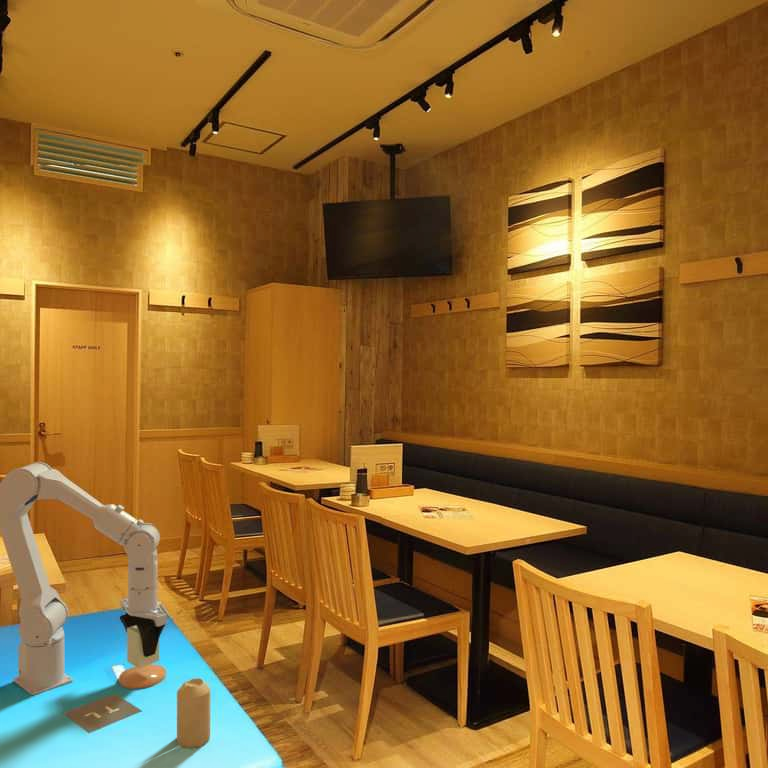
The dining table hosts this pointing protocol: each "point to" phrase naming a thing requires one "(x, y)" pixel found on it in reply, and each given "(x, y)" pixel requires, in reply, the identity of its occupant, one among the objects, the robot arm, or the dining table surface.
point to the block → (138, 649)
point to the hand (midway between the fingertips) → (143, 651)
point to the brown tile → (102, 712)
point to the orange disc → (142, 676)
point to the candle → (193, 713)
